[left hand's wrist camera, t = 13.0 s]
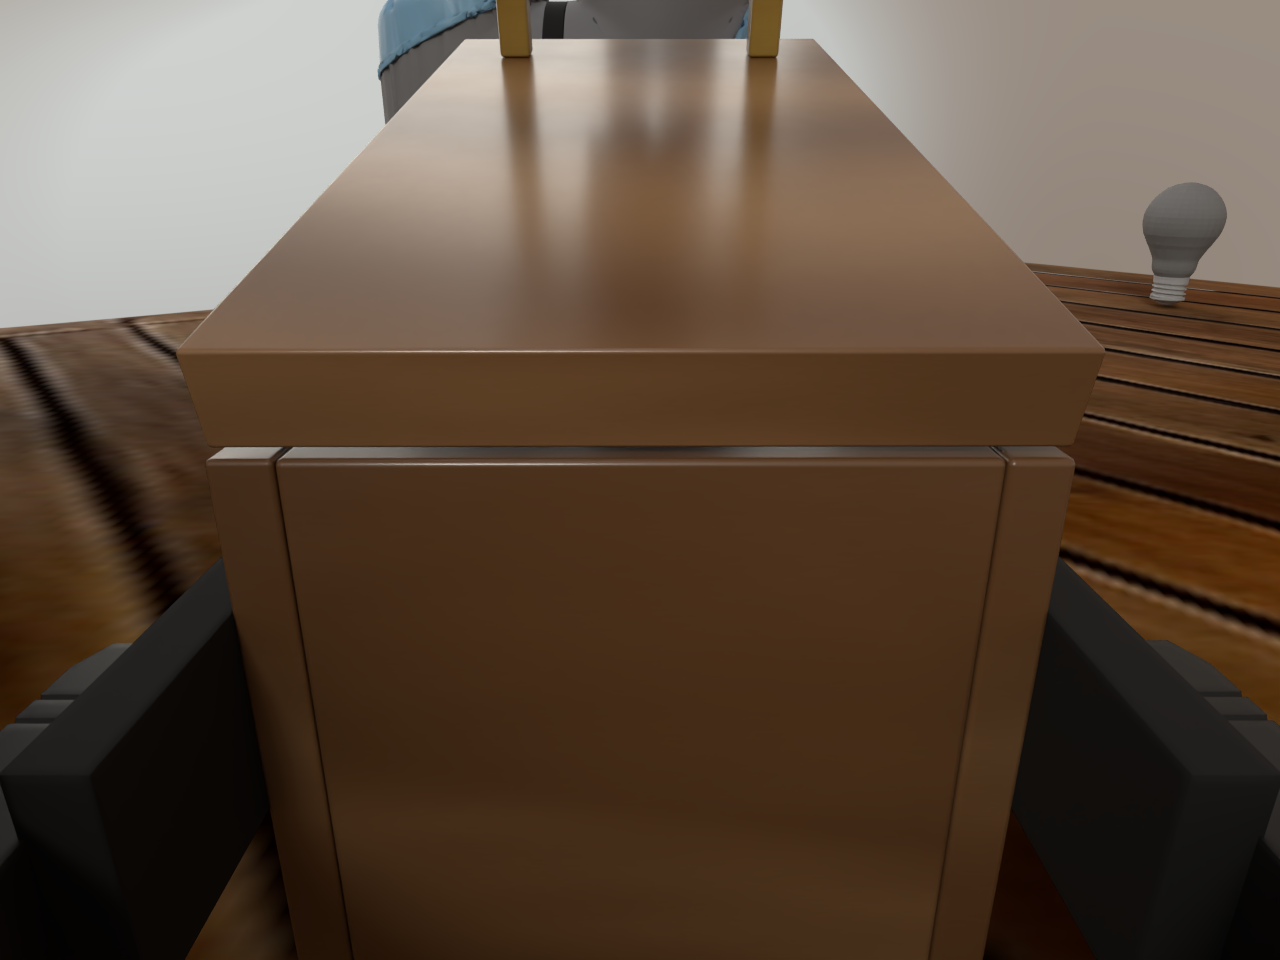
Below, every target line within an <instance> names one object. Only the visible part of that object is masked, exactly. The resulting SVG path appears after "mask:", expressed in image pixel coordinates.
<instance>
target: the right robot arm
mask: <svg viewBox="0 0 1280 960" xmlns="http://www.w3.org/2000/svg"><path fill="white" fill-rule="evenodd" d="M529 2H530V17H531V32H532V39H747V29H748V13H749V0H576V1H568V2H549V0H529ZM378 32H379V51H380V65H379V69H378V77H379V80H380V81H381V86H382V96H383V106H384V116H385V125H386V124H387V123H388V122H389V121H390V120H391V119H392V117H393V116H394V115H395V114H396V113H397V112H398V111H399V110H400V109H401V108H402V107H403V106H404V105H405V103H406V102H407V101H408V100H409V99H410V98H411V97H412V96H413V95H414V94H415V93H416V92H417V91H418V89H419V88H420V87H421V86H422V85H423V84H424V83H425V82H426V81H427V80H428V79H429V78H430V77H431V76H432V74H433V73H434V72H435V71H436V70H437V69H438V68H439V67H440V66H441V65H442V64H443V63H444V62H445V60H446V59H447V58H448V57H449V56H450V55H451V54H452V53H453V52H454V51H455V50H456V49H457V48H458V47H459V45H460V44H461V43H462V42H463V41H464V40H465V39H499V30H498V19H497V7H496V0H388V1H387V2H386V3H385V5H384V6H383V8H382V10H381V12H380V15H379V20H378Z"/></svg>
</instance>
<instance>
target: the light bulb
mask: <svg viewBox="0 0 1280 960" xmlns="http://www.w3.org/2000/svg"><path fill="white" fill-rule="evenodd" d="M1226 218H1227V212H1226V207H1225V204H1224V202H1223V200H1222V198H1221V197H1220V195H1219V194H1218V193H1217V192H1216V191H1215V190H1214V189H1212V188H1210V187H1208V186H1206V185H1203V184H1199V183H1183V184H1178V185H1175V186H1172V187H1170V188H1168V189H1166V190H1165V191H1163V192H1162V193H1161V194H1159V195H1158V196H1157V197H1156V198H1155V199H1154V200H1153V201H1152V202H1151V204H1150V205H1149V206H1148V208H1147V210H1146V212H1145V214H1144V218H1143V233H1144V236H1145V238H1146V241H1147V244H1148V246H1149V249H1150V252H1151V255H1152V271H1153V273H1154V279H1153V282H1155V283H1154V284H1152V286H1154V288H1152V289H1151V290H1152V291H1153V293H1151V294H1150V298H1151V299H1153V300H1155V301H1156V302H1157V303H1159V304H1164V305H1173V304H1175V303H1178V302H1181V301H1183V300H1185V297H1183V295H1186V294H1185V293H1184V290H1187V289H1185V285H1188V282H1189V279H1190V276H1191V275H1192V274H1193V273H1194V271H1195V270H1196V267H1197V264H1198V262H1199V260H1200V258H1201V257H1202V256H1203V254H1204V253H1205V252H1206V251H1207V249H1208V248H1209V247H1210V246H1211V245H1212V244H1213V243H1214V242H1215V240H1216V239H1217V238H1218V237H1219V235H1220V234H1221V232H1222V230H1223V228H1224V225H1225V223H1226Z"/></svg>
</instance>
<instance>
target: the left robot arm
mask: <svg viewBox="0 0 1280 960" xmlns="http://www.w3.org/2000/svg"><path fill="white" fill-rule="evenodd" d="M269 808H270V807H269V801H268V796H267V791H266V785H265V780H264V775H263V769H262V764H261V759H260V753H259V748H258V743H257V738H256V732H255V727H254V722H253V716H252V711H251V706H250V700H249V695H248V690H247V685H246V679H245V674H244V669H243V663H242V658H241V653H240V647H239V642H238V637H237V631H236V626H235V621H234V616H233V610H232V605H231V600H230V594H229V589H228V584H227V578H226V573H225V568H224V563H223V557H221V558H220V559H219V560H218V561H217V562H216V563H215V564H214V565H213V566H212V567H211V568H210V569H209V570H208V571H207V572H206V573H204V574H203V575H202V576H201V577H200V578H199V579H198V580H197V581H196V582H195V583H194V584H193V585H192V586H191V587H190V588H189V589H188V590H187V591H186V592H185V593H184V594H183V595H182V596H181V597H180V598H179V599H178V600H177V601H176V602H175V603H174V604H173V605H172V606H171V607H170V608H169V609H168V610H166V611H165V612H164V613H163V614H162V615H161V616H160V617H159V618H158V619H157V620H156V621H155V622H154V623H153V624H152V625H151V626H150V627H149V628H148V629H147V630H146V631H145V632H144V633H143V634H142V635H141V636H140V637H139V638H138V639H137V640H136V641H135V642H134V643H114V644H112V645H110V646H108V647H106V648H105V649H103V650H101V651H99V652H97V653H96V654H94V655H92V656H90V657H88V658H86V659H85V660H83V661H81V662H79V663H77V664H76V665H74V666H72V667H71V668H69V669H68V670H67V671H66V672H65V673H64V674H63V675H62V676H61V677H60V678H58V679H57V680H56V681H55V682H54V683H53V684H52V685H51V686H50V687H49V688H47V689H46V690H45V691H44V692H43V693H42V694H41V699H40V700H34V701H33V702H32V703H31V704H30V705H29V706H28V707H27V708H25V709H24V710H23V711H22V712H21V713H20V714H19V715H18V716H17V717H16V718H15V723H14V724H8V725H7V726H6V727H5V728H3V729H2V730H1V731H0V960H185V958H186V956H187V954H188V953H189V951H190V949H191V947H192V945H193V944H194V942H195V940H196V938H197V937H198V935H199V933H200V931H201V929H202V928H203V926H204V924H205V922H206V921H207V919H208V917H209V915H210V913H211V912H212V910H213V908H214V906H215V905H216V903H217V901H218V899H219V897H220V896H221V894H222V892H223V890H224V889H225V887H226V885H227V883H228V881H229V880H230V878H231V876H232V874H233V873H234V871H235V869H236V867H237V865H238V864H239V862H240V860H241V858H242V857H243V855H244V853H245V851H246V849H247V848H248V846H249V844H250V842H251V840H252V839H253V837H254V835H255V833H256V832H257V830H258V828H259V826H260V824H261V823H262V821H263V819H264V817H265V816H266V814H267V812H268V810H269ZM1011 809H1012V810H1013V812H1014V814H1015V816H1016V818H1017V819H1018V821H1019V823H1020V825H1021V826H1022V828H1023V830H1024V832H1025V834H1026V835H1027V837H1028V839H1029V841H1030V842H1031V844H1032V846H1033V848H1034V850H1035V851H1036V853H1037V855H1038V857H1039V858H1040V860H1041V862H1042V864H1043V866H1044V867H1045V869H1046V871H1047V873H1048V874H1049V876H1050V878H1051V880H1052V882H1053V883H1054V885H1055V887H1056V889H1057V890H1058V892H1059V894H1060V896H1061V898H1062V899H1063V901H1064V903H1065V905H1066V906H1067V908H1068V910H1069V912H1070V914H1071V915H1072V917H1073V919H1074V921H1075V922H1076V924H1077V926H1078V928H1079V930H1080V931H1081V933H1082V935H1083V937H1084V938H1085V940H1086V942H1087V944H1088V946H1089V947H1090V949H1091V951H1092V953H1093V955H1094V956H1095V958H1096V960H1280V726H1279V725H1278V724H1277V723H1276V722H1274V721H1268V720H1267V714H1266V713H1264V712H1263V711H1262V710H1261V709H1260V708H1259V707H1258V706H1257V705H1256V704H1255V703H1253V702H1252V701H1251V700H1250V699H1249V698H1248V697H1242V695H1241V691H1240V690H1239V689H1238V688H1237V687H1236V686H1235V685H1233V684H1232V683H1231V682H1230V681H1229V680H1228V679H1227V678H1226V677H1225V676H1224V675H1222V674H1221V673H1220V672H1219V671H1218V670H1217V669H1216V668H1215V667H1214V666H1212V665H1211V664H1210V663H1208V662H1206V661H1204V660H1203V659H1201V658H1199V657H1197V656H1195V655H1193V654H1192V653H1190V652H1188V651H1186V650H1184V649H1182V648H1181V647H1179V646H1177V645H1175V644H1173V643H1171V642H1170V641H1168V640H1144V639H1143V638H1142V637H1141V636H1140V635H1139V634H1138V633H1137V632H1136V631H1135V630H1134V629H1133V628H1132V627H1131V626H1130V625H1129V624H1128V623H1127V622H1126V621H1125V620H1124V619H1123V618H1122V617H1121V616H1120V615H1119V614H1118V613H1117V612H1116V611H1114V610H1113V609H1112V608H1111V607H1110V606H1109V605H1108V604H1107V603H1106V602H1105V601H1104V600H1103V599H1102V598H1101V597H1100V596H1099V595H1098V594H1097V593H1096V592H1095V591H1094V590H1093V589H1092V588H1091V587H1090V586H1089V585H1088V584H1087V583H1086V582H1085V581H1084V580H1083V579H1082V578H1081V577H1080V576H1079V575H1077V574H1076V573H1075V572H1074V571H1073V570H1072V569H1071V568H1070V567H1069V566H1068V565H1067V564H1066V563H1065V562H1064V561H1063V560H1062V559H1061V558H1060V557H1059V556H1058V560H1057V566H1056V571H1055V576H1054V582H1053V587H1052V592H1051V598H1050V603H1049V608H1048V614H1047V619H1046V624H1045V630H1044V635H1043V640H1042V646H1041V651H1040V656H1039V662H1038V667H1037V672H1036V678H1035V683H1034V688H1033V694H1032V699H1031V704H1030V710H1029V715H1028V720H1027V726H1026V731H1025V737H1024V742H1023V747H1022V753H1021V758H1020V763H1019V769H1018V774H1017V779H1016V784H1015V790H1014V795H1013V800H1012V806H1011Z"/></svg>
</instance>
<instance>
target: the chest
mask: <svg viewBox="0 0 1280 960" xmlns="http://www.w3.org/2000/svg"><path fill="white" fill-rule="evenodd" d="M205 467H206V472H207V478H208V483H209V488H210V494H211V499H212V504H213V510H214V515H215V520H216V525H217V531H218V536H219V541H220V547H221V552H222V557H223V563H224V568H225V573H226V578H227V584H228V589H229V594H230V600H231V605H232V610H233V616H234V621H235V626H236V631H237V637H238V642H239V647H240V653H241V658H242V663H243V669H244V674H245V679H246V685H247V690H248V695H249V700H250V706H251V711H252V716H253V722H254V727H255V732H256V738H257V743H258V748H259V753H260V759H261V764H262V769H263V775H264V780H265V785H266V791H267V796H268V801H269V807H270V812H271V817H272V822H273V828H274V833H275V838H276V844H277V849H278V854H279V860H280V865H281V870H282V875H283V881H284V886H285V891H286V897H287V902H288V907H289V913H290V918H291V923H292V928H293V934H294V939H295V944H296V950H297V955H298V960H983V956H984V950H985V945H986V940H987V934H988V929H989V924H990V918H991V913H992V908H993V902H994V897H995V891H996V886H997V881H998V875H999V870H1000V865H1001V859H1002V854H1003V849H1004V843H1005V838H1006V833H1007V827H1008V822H1009V817H1010V811H1011V806H1012V800H1013V795H1014V790H1015V784H1016V779H1017V774H1018V769H1019V763H1020V758H1021V753H1022V747H1023V742H1024V737H1025V731H1026V726H1027V720H1028V715H1029V710H1030V704H1031V699H1032V694H1033V688H1034V683H1035V678H1036V672H1037V667H1038V662H1039V656H1040V651H1041V646H1042V640H1043V635H1044V630H1045V624H1046V619H1047V614H1048V608H1049V603H1050V598H1051V592H1052V587H1053V582H1054V576H1055V571H1056V566H1057V560H1058V555H1059V549H1060V544H1061V539H1062V533H1063V528H1064V523H1065V517H1066V512H1067V507H1068V501H1069V496H1070V491H1071V485H1072V480H1073V475H1074V469H1075V463H1074V460H1073V459H1072V458H1071V457H1070V456H1068V455H1067V454H1065V453H1064V452H1062V451H1061V450H1060V449H1058V448H1057V447H1055V446H959V447H225V448H223V449H222V450H220V451H219V452H218V453H216V454H215V455H213V456H212V457H211V458H209V459H208V460H207V461H206V465H205Z"/></svg>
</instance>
